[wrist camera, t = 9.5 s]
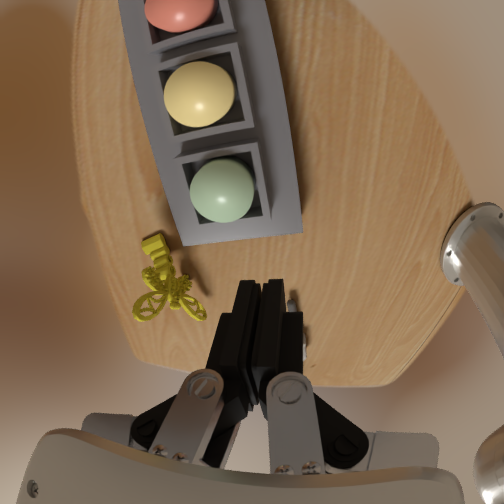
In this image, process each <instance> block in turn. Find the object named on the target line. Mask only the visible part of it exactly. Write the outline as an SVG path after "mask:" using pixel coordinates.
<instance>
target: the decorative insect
mask: <svg viewBox="0 0 504 504" xmlns="http://www.w3.org/2000/svg"><path fill="white" fill-rule="evenodd" d="M141 245H142V249H143V250H144V252H145V254H146V255H147V254H150V257H151V258H152V260H154V261H153V262H154V267H153V268H152V269H151V266H149V267H148V268H145V269H143V271H142V278H143V280H144V282H145V283H146V285H147V286H148V287H149V288H150V289H151V290H154V291H153V292H150V293H147V294H145V295H143V296H141V297H140V298H139V299H138V300H137V301H136V302H135V304H134V306H133V310H132V313H133V316H134V319H136V320H138V321H140V322H141V321H148V320H151V319H153V318H154V317H155V316H157V315H158V314H159V312H160V311H161V310H162V309H163V307H164V305H165V303H166V301H167V300H168V301H169V302H170V308H171V309H180V307H181V306H182V307H183V308H184V310H185V311H186V312H187V313H188V314H189V315H190V316H191V317H193V318H194V319H196V320H197V321H203V320H206V318H207V314H206V311H205V309H204V308H203V306H202V305H201V304H200V303H199V302H198V301H197V300H196V299H195V298H193V297H191V296H189V295H187V294H184V293H185V292H186V291H189V290H190V289H189V288H191V287H192V286H191V285H192V282H190V281H189V280H188V279H187V278H188V277H189V275H187V276H186V275H185V274H184V275H183V276H181V277H179V278H178V279H177V278H175V277H174V276H175V275H176V270H175V267H174V266H173V265H172V264H173V259H172V257H171V256H170V255H168V254H170V249H169V248H168V246H167V245H166V241H165V238H164V237H163V235H162V234H161V233H159V234H157V235H155V236H153V237H151V238H148V239H146V240H144V241H142V242H141ZM155 268H156V270H155ZM154 270H155V271H154ZM163 283H164V285H163ZM153 295H163V296H162V297H161V298H160V299H158V300H156V299H154V298H152V296H153ZM184 298H186V299H189V300H191V301H193V302H194V303H192V302H189V301H188V300H186V299H184ZM146 299H147V302H148V305H149V308H143V309H140V308H141V306H142V304H143V302H144V301H145V300H146ZM150 299H151V301H153V302H154V303H160V302H161V304H160V305H159V306H158V308H157V309H156V310H154V308H153V306H152V305H151V302H150ZM178 302H179V303H178ZM188 304H189V305H192V306H193V305H194V306H195V304H196V306H197V310H196V311H194V310H193V309H192V308H191V307H190V306H189V305H188ZM200 309H201V310H200ZM143 311H144V312H145V311H151V312H153V314H151V315H149V316H146V317H144V316H143V315H141V314H140V313H141V312H143ZM197 313H202V314H203V316H200V315H198V314H197Z"/></svg>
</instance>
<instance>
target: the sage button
mask: <svg viewBox="0 0 504 504" xmlns="http://www.w3.org/2000/svg"><path fill="white" fill-rule="evenodd" d="M254 191H255V177H254V174H253V172H252V170H251V168H250V167H249V166H248V165H247V164H246V163H245V162H244V161H242V160H241V159H239V158H237V157H234V156H228V155H224V156H219V157H214V158H212V159H210V160H209V161H207V162H206V163H205V164H204V165H203V166H202V167H201V169H200V170H199V171H198V172H197V174H196V175H195V176H194V178H193V180H192V182H191V185H190V198H191V201H192V204H193V205H194V207H195V209H196V210H197V211H198V212H199V213H200V214H201V215H202V216H204V217H205V218H207V219H209V220H211V221H215V222H220V223H227V222H232V221H235V220H237V219H239V218H241V217H242V216H244V215H245V214H246V213H247V211H248V210H249V208H250V206H251V204H252V201H253V196H254Z"/></svg>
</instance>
